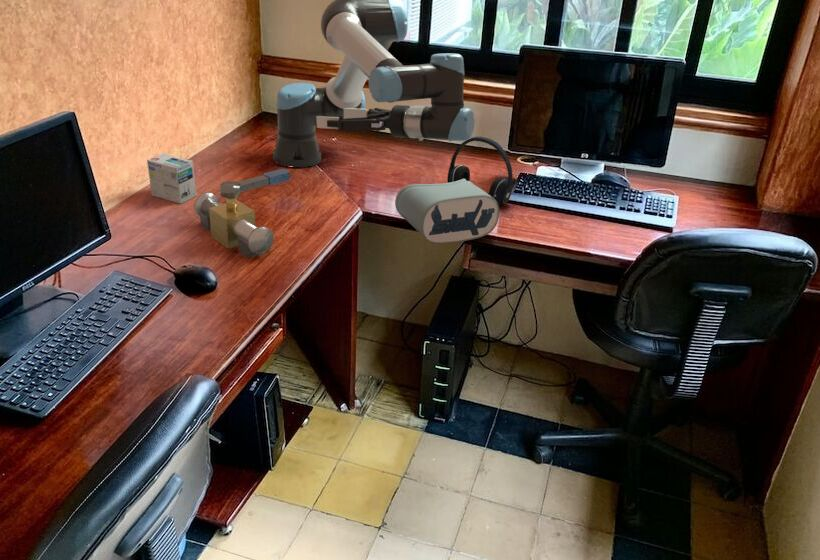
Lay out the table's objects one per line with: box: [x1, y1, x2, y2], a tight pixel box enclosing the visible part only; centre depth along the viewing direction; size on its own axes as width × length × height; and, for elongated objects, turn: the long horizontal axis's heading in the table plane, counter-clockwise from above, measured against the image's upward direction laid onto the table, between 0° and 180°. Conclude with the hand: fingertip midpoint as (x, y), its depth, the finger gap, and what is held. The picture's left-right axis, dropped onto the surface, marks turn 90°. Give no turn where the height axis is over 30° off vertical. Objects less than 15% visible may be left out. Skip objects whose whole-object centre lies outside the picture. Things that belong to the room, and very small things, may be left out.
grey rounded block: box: [394, 179, 500, 245], centre depth 195 cm, size 22×19×13 cm
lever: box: [219, 168, 291, 199], centre depth 183 cm, size 19×5×2 cm, turn 134°
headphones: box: [447, 136, 514, 206], centre depth 213 cm, size 20×7×18 cm, turn 55°
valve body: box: [193, 191, 275, 259], centre depth 183 cm, size 26×8×12 cm, turn 44°
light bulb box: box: [146, 152, 197, 205], centre depth 202 cm, size 11×7×11 cm, turn 65°
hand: (331, 117), depth 183 cm, fingers open, 13 cm apart
